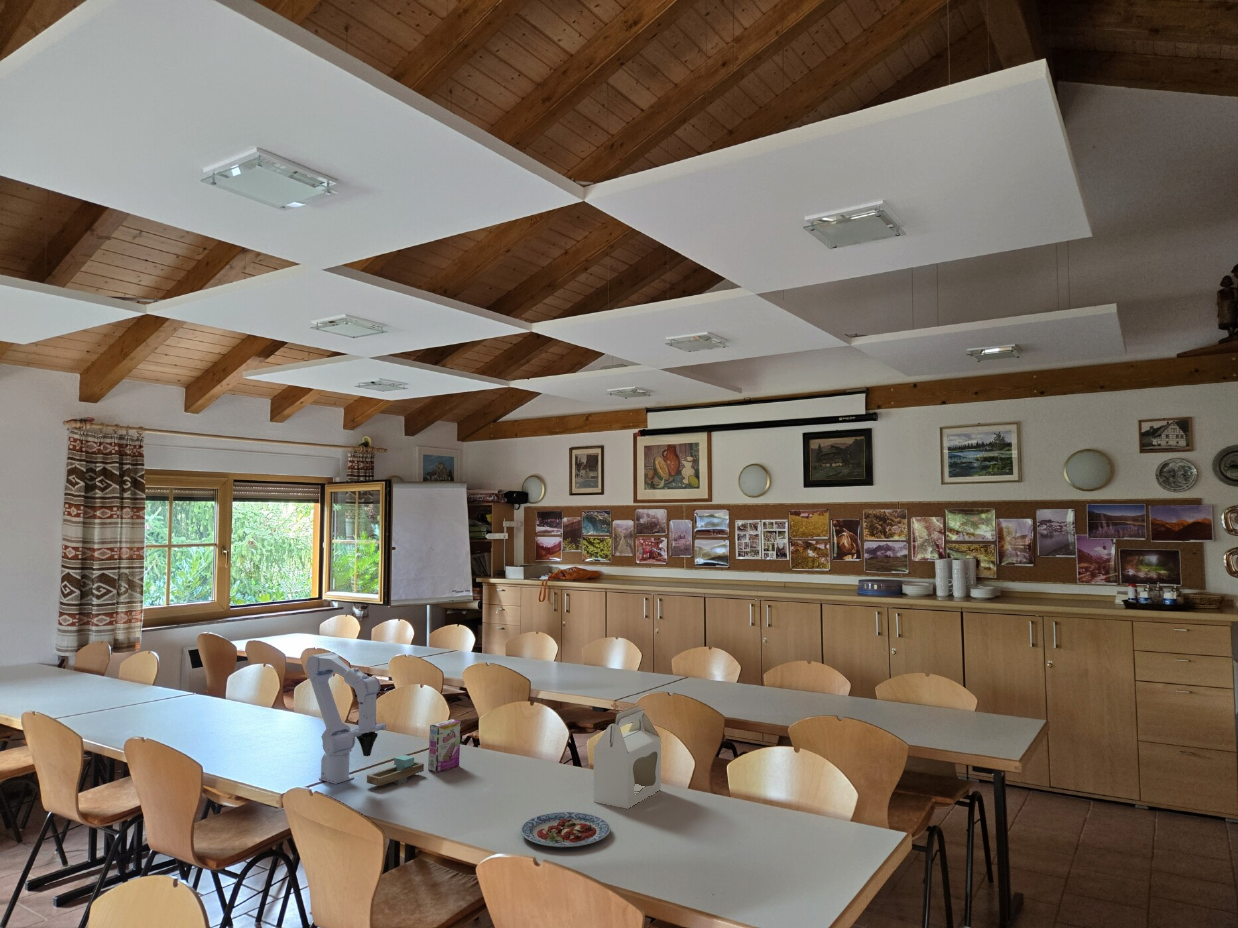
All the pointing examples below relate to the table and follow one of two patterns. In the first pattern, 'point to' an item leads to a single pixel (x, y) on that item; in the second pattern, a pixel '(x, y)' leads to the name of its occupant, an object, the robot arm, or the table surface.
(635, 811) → the table surface
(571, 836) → the ceramic plate
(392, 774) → the wooden tray
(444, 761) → the candy bar box
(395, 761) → the block
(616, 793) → the gable box
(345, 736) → the robot arm
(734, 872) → the table surface
